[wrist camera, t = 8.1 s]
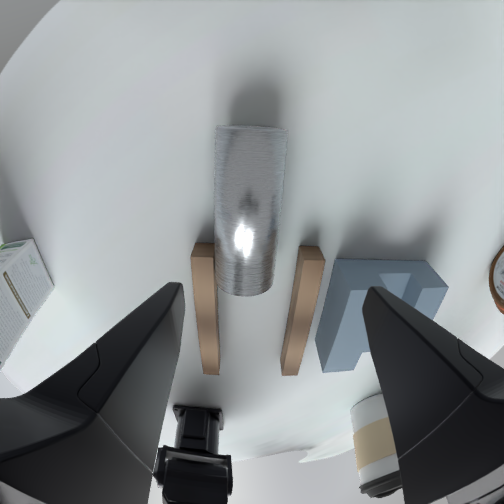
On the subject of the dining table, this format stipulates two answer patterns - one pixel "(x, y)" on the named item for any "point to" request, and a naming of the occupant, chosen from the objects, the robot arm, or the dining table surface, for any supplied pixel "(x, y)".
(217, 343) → the guide channel
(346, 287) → the v block
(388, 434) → the coffee cup
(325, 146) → the dining table surface
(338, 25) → the dining table surface
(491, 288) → the tin
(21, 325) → the syrup box
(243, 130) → the axle
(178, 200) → the dining table surface
